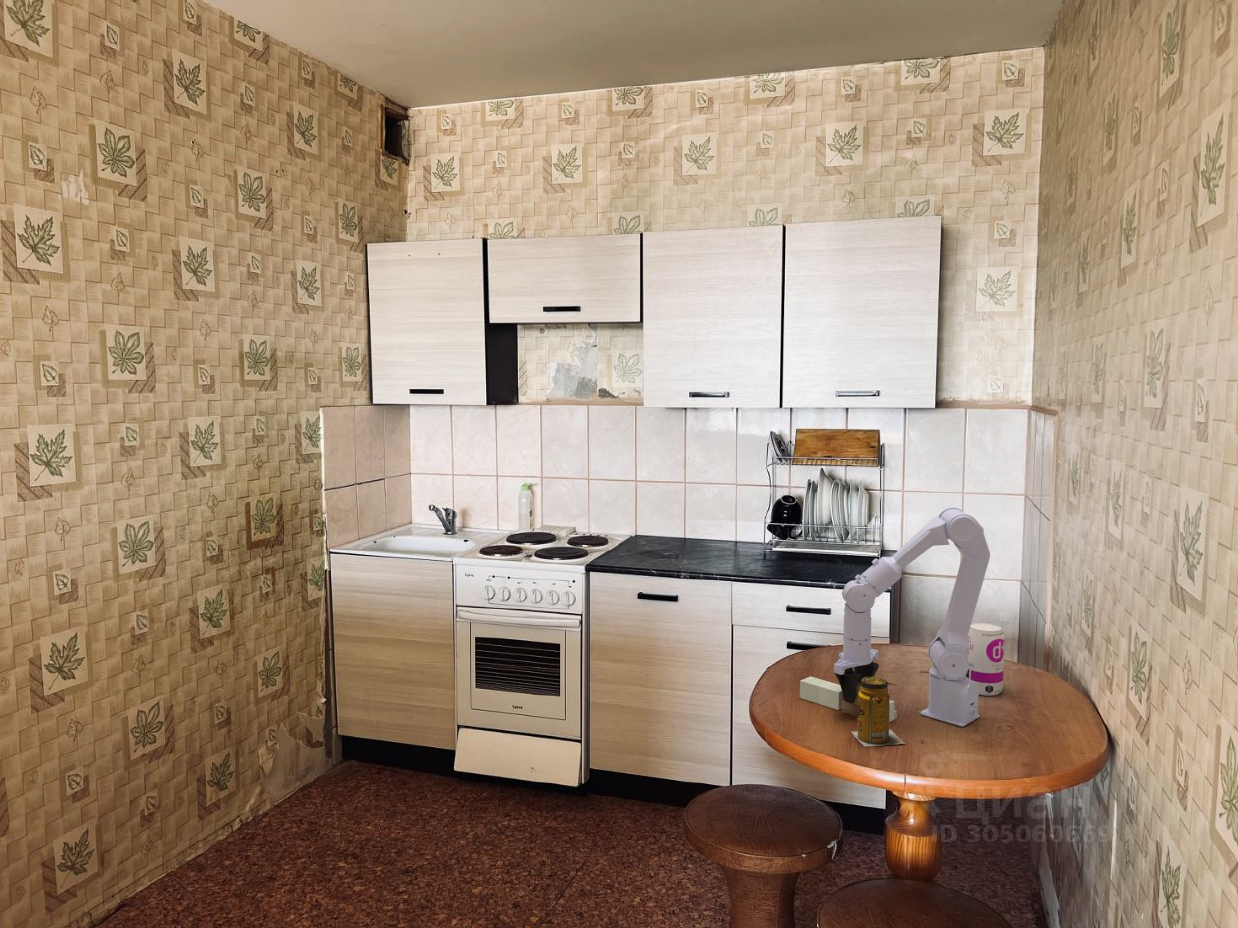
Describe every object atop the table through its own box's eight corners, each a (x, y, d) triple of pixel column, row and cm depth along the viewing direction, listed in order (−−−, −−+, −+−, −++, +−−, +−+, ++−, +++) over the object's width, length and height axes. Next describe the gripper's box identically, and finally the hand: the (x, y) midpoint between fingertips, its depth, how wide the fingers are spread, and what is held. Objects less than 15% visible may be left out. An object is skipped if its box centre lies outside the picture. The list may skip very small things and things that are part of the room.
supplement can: (1010, 693, 195) (1013, 629, 194) (982, 698, 192) (985, 633, 191) (983, 681, 203) (985, 619, 201) (956, 686, 200) (958, 623, 198)
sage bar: (896, 718, 182) (897, 699, 182) (884, 724, 179) (884, 706, 178) (812, 692, 197) (813, 675, 197) (799, 697, 194) (800, 680, 193)
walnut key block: (867, 711, 186) (868, 684, 185) (857, 716, 183) (858, 689, 182) (851, 706, 189) (852, 679, 188) (841, 711, 186) (842, 684, 185)
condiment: (850, 732, 175) (851, 675, 174) (890, 730, 176) (891, 673, 175) (863, 747, 168) (865, 688, 167) (905, 745, 169) (907, 686, 168)
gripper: (858, 626, 192) (857, 685, 193) (821, 640, 182) (820, 702, 183) (887, 632, 187) (886, 693, 188) (851, 647, 177) (849, 711, 178)
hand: (855, 698), depth 185 cm, fingers open, 5 cm apart
